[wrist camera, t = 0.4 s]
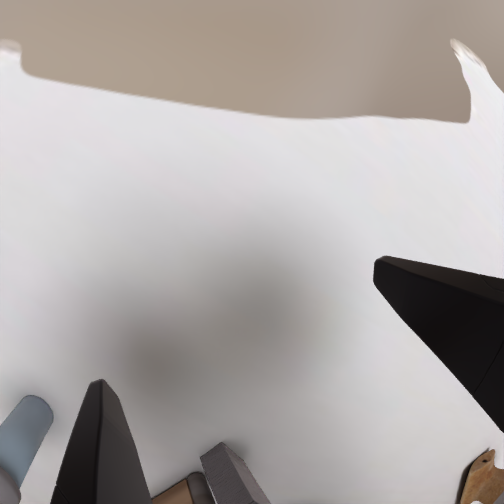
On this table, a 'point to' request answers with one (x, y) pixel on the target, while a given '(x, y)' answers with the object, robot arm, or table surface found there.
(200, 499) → the wooden plank
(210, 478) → the hinge post
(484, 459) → the tan rounded upright piece
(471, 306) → the robot arm
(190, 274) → the table surface
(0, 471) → the capped peg handle
